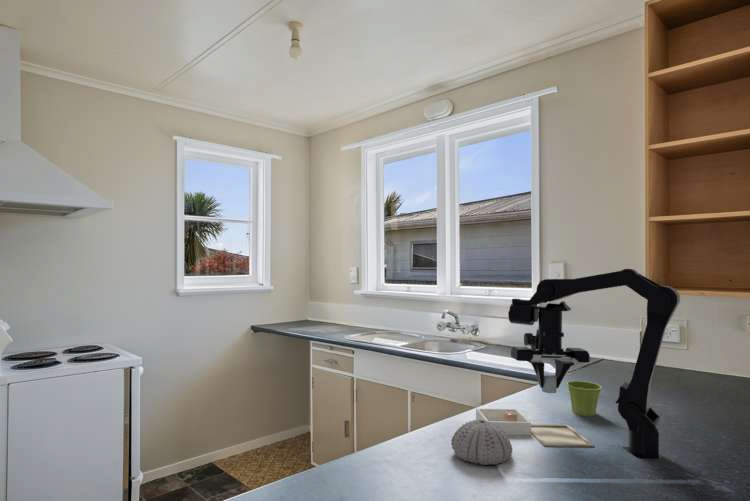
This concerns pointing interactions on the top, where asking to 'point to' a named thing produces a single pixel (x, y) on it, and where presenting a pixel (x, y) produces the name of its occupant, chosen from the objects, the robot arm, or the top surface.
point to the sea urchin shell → (481, 443)
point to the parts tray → (558, 436)
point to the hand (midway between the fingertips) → (549, 387)
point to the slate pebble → (550, 383)
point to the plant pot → (584, 397)
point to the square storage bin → (508, 427)
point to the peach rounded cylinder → (510, 416)
